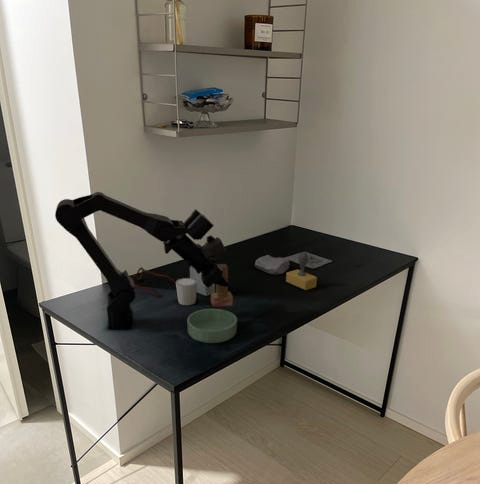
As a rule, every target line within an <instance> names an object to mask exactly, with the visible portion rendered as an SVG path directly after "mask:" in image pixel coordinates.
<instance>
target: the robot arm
mask: <svg viewBox="0 0 480 484" xmlns="http://www.w3.org/2000/svg"><path fill="white" fill-rule="evenodd" d="M99 211H100V212H103V213H105V214H107V215H110V216H112V217H115V218H116V219H117V218H118V219H120V220H122V221H124V222H127V223H129V224H132V225H133V226H136V227H138V228H140V229H142V230H144V231H145V232H146V233H147V234H149V235H150V236H152V237H153V238H155V239H156V240H158V241H160V242H161V243H162V244H163V250H164V253H165V254H166V255H168V254H169V253H170V252H171V251H173V252H174V253H175V254H176V255H178V256H179V257H180V258H181V259H182V260H183V261H184V262H185V264H186V265H187V266H190V267H191V266H192V267H193V268H194V269H195V270H196V272H197V273H198V274H200V273H201V274H202V275H201V280H202V282H203V284H204V285H205V286H207V287H210V286H211V285H212V284H215V285H216V284H217V285H220V286H224V287H227V286H229V283H227V282H226V280H225V279H224V278H223V276H222V274H223V271H222V269H221V267H220V266H219V265H217V264H218V263H217V260H216V258H215V257H217V256H219V255H221V254H224V253H226V251H227V248H226V247H225V245H224V243H223V241H222V239H221V238H220V237H218V236H216V237H214V236H213V235H211V234H210V235H208V236H207V237H206V242H205V243H204V244H203V245H201V244H200V243H196V242H195V241H201V240H202V239H203V238H204V237H205V236H206V234H208V232H210V231H211V229H213V227H214V226H215V225H214V224H213V223H212V221H210V219H208V217H207V216H205V214H202V212H200V211H199V210H197V208H195V209H194V210H193V211H192V212H191V214H190V215H189V216H188V217H187V218H186V219H185V220H184V221H183V220H179V219H178V220H177V219H170V218H169V217H168V216H166V215H162V214H158V213H151V212H145V211H142V210H140V209H139V208H136V207H133V206H132V205H129V204H126V203H124V202H121V201H119V200H117V199H115V198H113V197H111V196H108V195H106V194H104V193H103V192H102V191H101V192H100V191H96V192H93V193H91V194H88V195H83V196H79V197H77V198H74V199H69V198H64V199H62V200H60V201H59V202H58V204H57V206H56V209H55V214H54V217H55V220H56V221H57V223H58V224H59V225H60V226H61V227H62V228H63V229H64V230H65V231H66V232H67V233H69V234H70V235H71V236H73V237H74V238H75V239H76V240H77V241H78V242H79V244H80V246H82V248H83V249H84V251H85V252H86V253H87V255H88V256H89V258H90V259H91V260H92V262H93V263H94V265H95V266H96V267H97V269H98V270H99V271H100V272H101V274H102V275H103V276H104V278H105V280H106V281H107V284H108V287H109V289H110V291H109V292H108V293H107V295H106V296H107V306H106V314H107V322H108V323H107V327H106V328H107V330H130V329H131V327H132V325H133V323H134V310H133V308H131V304H132V303H133V302H134V300H135V298H136V291H135V290H136V287H135V285H136V284H135V281H134V278H133V279H132V278H130V276H131V275H129V273H128V271H127V269H124V271H121V270H120V269H118V268H117V267H116V265H115V264H114V262H113V261H112V260H111V258H110V257H109V255H108V254H107V253H106V251H105V250H104V248H103V246H102V245H101V244H100V242H99V241H98V240H97V238H96V236H95V235H94V233H92V231H91V230H90V227H89V226H88V224H87V221H86V220H85V219H86V218H87V217H89V216H91V215H93V214H94V213H96V212H99ZM187 234H188V235H187ZM190 237H191V238H190ZM134 284H135V285H134Z"/></svg>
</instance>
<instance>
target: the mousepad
mask: <svg viewBox="0 0 480 484" xmlns="http://www.w3.org/2000/svg"><path fill="white" fill-rule="evenodd" d="M302 252H303V251H302ZM302 252H298V253H294V254H292V255H289V256H286V257H284V258H286V259H287V260H288V261H289V262H290V261H291V262H293V263H296V264H298V265H300V264H299V261H298V257H299V254H300V253H302ZM304 252H305V253H307V255H308V261H307V264H306V266H305V267H307V268H309V269H312V270H313V269H316V268H319V267H322V266H324V265H326V264H329V263H332V262H333V260H331V259H327V258H325V257H321V256H319V255H316V254H312V253H310V252H307V251H304Z"/></svg>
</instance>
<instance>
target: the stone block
mask: <svg viewBox="0 0 480 484" xmlns="http://www.w3.org/2000/svg"><path fill="white" fill-rule="evenodd" d="M254 267H255V268H256V269H257V270H260V271H263V272H265V273H267V274H270V275H282V274H284V273H285V272H287V271H289V269H290V260H287V259H286V258H285V257H280V256H279V257H274V256H271V255H269V254H266V255H263V256H260V257H259V258H257V259H256V260H255V263H254Z"/></svg>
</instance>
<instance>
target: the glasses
mask: <svg viewBox="0 0 480 484" xmlns="http://www.w3.org/2000/svg"><path fill="white" fill-rule="evenodd" d="M140 272H141V274H140ZM144 273H147V274H150V275H152V276H156V277H163V278H167V279H168V280H169V281H171V282H172V283H173V284H174V283H176V280H174V279H173V278H172V277H171V276H169V275H167V274H160V273H156V272H152V271H151V270H150V271H149V270H146V269H144V268H143V267H139V269H138V270H137V272H136V273H134V275H129V276H130V278H132V279H133V280H134V278H136V281H138V282H139V281H141V279H142V277H143V276H144ZM139 274H140V277H139ZM134 285H135V288H137V289H141V290H149V291H153V292H154V293H155V294H156V295H157V296H158V297H161V294H160V293H159V291H157V290H156V289H155V288H153V287H144V286H141V285H138V284H135V283H134Z"/></svg>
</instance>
